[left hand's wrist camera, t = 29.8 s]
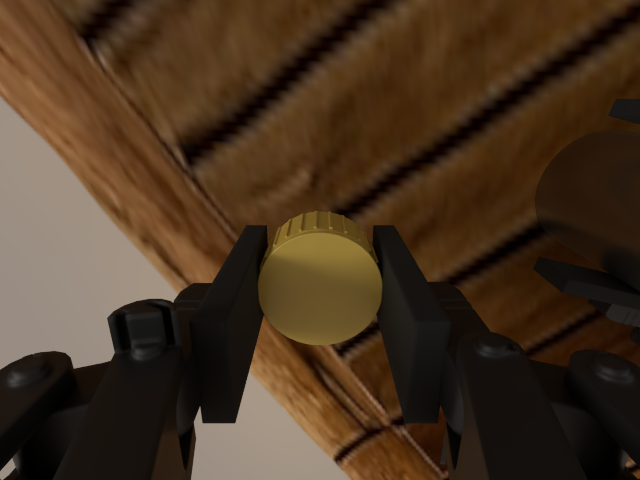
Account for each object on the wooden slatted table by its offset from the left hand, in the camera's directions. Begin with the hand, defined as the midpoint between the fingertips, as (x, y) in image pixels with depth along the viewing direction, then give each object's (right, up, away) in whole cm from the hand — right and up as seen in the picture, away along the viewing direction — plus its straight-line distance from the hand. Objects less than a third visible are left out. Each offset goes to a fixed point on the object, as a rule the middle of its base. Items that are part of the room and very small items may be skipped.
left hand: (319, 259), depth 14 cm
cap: (0, -1, -2) cm, 2 cm away
